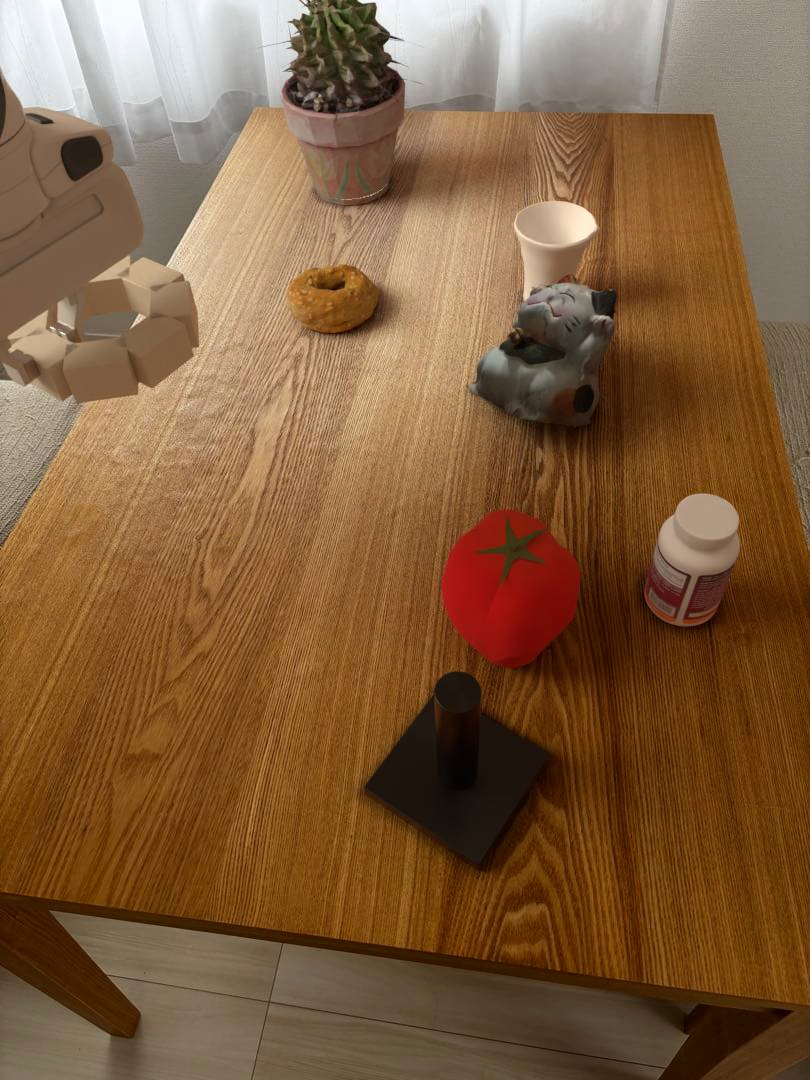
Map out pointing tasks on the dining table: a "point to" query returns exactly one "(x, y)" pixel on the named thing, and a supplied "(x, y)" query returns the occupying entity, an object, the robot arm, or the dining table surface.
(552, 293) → the lucky cat figurine
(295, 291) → the bagel
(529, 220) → the cup
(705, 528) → the pill bottle
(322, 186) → the potted plant
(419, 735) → the post
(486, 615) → the tomato
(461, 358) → the dining table surface
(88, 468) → the dining table surface
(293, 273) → the dining table surface
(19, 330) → the ring
